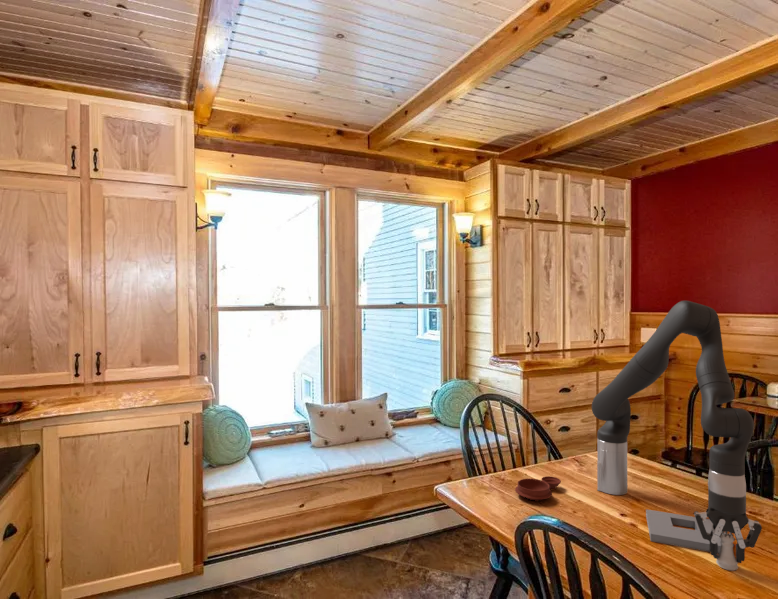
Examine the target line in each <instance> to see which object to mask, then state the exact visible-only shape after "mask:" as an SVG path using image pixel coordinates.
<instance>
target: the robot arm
mask: <svg viewBox="0 0 778 599" xmlns="http://www.w3.org/2000/svg"><path fill="white" fill-rule="evenodd" d="M719 318H720V317H719V316H718V313H717V311H716V310H715V309H714V308H713V307H710V306H708V305H705V304H701V303H697V302H694V301H691V300H680V301H679V302H677V303H676V304H674V305H673V306H672V307H671V309H670V310H668V312H667V314H666V315H665V317H664V318H663V319H662V321H661V322H660V324H659V326H657V329H655V331H654V332H653V333H652V335H650V337H649V339H647V341H646V342H645V343H644V344H643V346H642V347H641V348H640V349H639V350H638V351H637V352H636V353H635V354H634V356H632V357H631V359H630V360H629V361H628V362H627V364H626V365H625V366H624V367H623V368H622V370H621V371H620V372H619V373H618V374H617V375H616V376H615V377H614V379H612V380H611V382H609V384H608V385H607V386H605V387H604V388H603V389H601V391H599V392H598V393H597V394H596V395H595V396H594V398H593V400H592V401H591V402H592V403H591V411H592V414H593V416H594V417H595V418H597V419H598V420H600V421H603V422H604V424H603V425H602V426H601V427H599V429H597V434H596V435H597V437H596V438H597V461H596V462H597V464H596V465H597V466H596V467H597V468H596V469H597V479H596V480H597V481H596V482H597V486H596V487H597V488H596V489H597V491H598V492H599V491H600V492H603V493H605V494H610V495H616V496H621V495H623V496H624V495H626V494H627V493H628V436H629V434H630V431H631V414H632V413H631V410H632V409H631V403H630V400H629V399H630V398H631V397H632V396H634V395H636V394H637V393H640V392H641V391H644V390H645V389H647V388H648V387H649V386H651V385H652V384H654V383H655V382H656V381H657V380H658V379H659V378H660V377H661V375H663V374H664V373H665V372H666V370H667V368H668V365H669V361H670V360H669V359H670V348H671V345H672V343H673V342H674V341H675V340H676V338H677V337H679V336H680V335H681V334H685V335H689V336H692V337H696V338H697V340H698V342H699V344H700V347H701V353H700V356H699V359H698V360H697V363H696V366H695V375H696V376H695V377H696V380H697V384H698V387H699V391H700V395H701V412H700V424H701V428H702V430H703V431H704V432H705V433H706V434H707V435H709V436H710V437H715V438H716V437H718V438H729V439H728V440H727V442H724V443H719V444H714V445H712V446H710V448H709V467H708V468H709V471H708V478H707V480H708V481H707V487H708V489H707V490H708V491H707V495H708V499H707V500H708V503H707V504H708V506H707V509H706V510H705V511H703V512H699V511H697V510H696V511H693V512H694V513H693V515H694V517H695V518H696V521H697V524H698V526H699V529H700V532H701V535H702V537H703V539H707V540H709V541H710V552H709V553H710V555H711V556H713V559H716V560H717V559H718V555H719V553H718V544H717V540H718V538H719V536H720V534H721V532H724V533H725V532H728V533H732V534H733V535H734V538H735V541H736V543H735V558H736V560H737V562H738V564H742V563H743V562H745V560H746V559H745V552H746V551H745V550H746V548H755V546H756V543H757V542H758V539H759V537H760V534H761V532H762V530H763V527H762V524H761V522H759V521H758V520H753V519H750V518H748V515H747V483H746V477H745V476H746V475H745V474H746V472H745V470H746V469H745V464H746V463H745V460H746V455H747V451H748V447H749V445H750V441H751V439H752V436H753V434H754V431H755V430H754V429H755V422H754V419H753V417H752V415H751V413H750V412H749V411H747V410H746V409H744V408H737V407H718V405H722V404H727V403H730V402H731V401H733V399H735V390H734V388H733V384H732V381H731V379H730V375H729V372H728V370H727V366H726V361H725V358H724V348H723V347H724V346H723V340H722V331H721V323H720V319H719ZM706 519H710V521H711V522H712V523H713V525H712V528H711V532H710V534H709V533H707V532H706V530H705V527H704V524H703V522H705V521H706ZM745 526H748V528H749V530H748V533H747V536H746V537H745V538H744V537H743V534H742V532H741V531H742V530H743V529H744V528H745Z"/></svg>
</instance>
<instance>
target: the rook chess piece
mask: <svg viewBox="0 0 778 599" xmlns="http://www.w3.org/2000/svg"><path fill="white" fill-rule="evenodd" d="M719 537H720V538H721V541H720V543H721V549H720V553H718V559H716V560H715V562H716V564H717V566H719V567H720V568H721V569H724V570H725V571H737V570H738V569H739V565H738V564H739V563H738V562H737V560H736V555H735V554H734V553H735V552H734V546H735V544H734V542H735V541H736V537H735V536H734V533H730V532H721V534H720V536H719Z"/></svg>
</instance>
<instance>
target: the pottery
mask: <svg viewBox="0 0 778 599" xmlns="http://www.w3.org/2000/svg"><path fill="white" fill-rule="evenodd" d="M561 482H562V480H561V479H560V478H558V477H554V476H543V477H541V479H538V478H522V479H520V480H518V481H517V486H515V490H514V491H515V493H516V494H517V495H519V496H521V497H523V498H525V497H526V498H528V499H530V500H529V501H531V500H535V501H534V502H539V501H538V500H540V501H543V500H546V499H549V498H550V497H552V496H553V492H552V490H550V489H555V488H557V487H558V486H559V485H560V484H561ZM555 490H556V489H555ZM526 498H525V499H526ZM528 499H527V500H528Z"/></svg>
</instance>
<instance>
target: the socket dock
mask: <svg viewBox="0 0 778 599" xmlns="http://www.w3.org/2000/svg"><path fill="white" fill-rule="evenodd" d="M645 518H646V522H647V523H646V524H647V528H648V534H649V539H650V540H649V541H650V542H654V543H659V544H665V545H669V546H670V545H671V546H675V547H676V546H677V547H680V548H686V549H691V548H692V550H697V549H698V551H702V552H709V553H710V541H709V540H707V539H703V537H702V535H701V532H700V529H699V526H698V524H697V521H696V518H695V516H690V515H683V514H678V513H672V512H665V511H659V510H654V509H653V510H652V509H645ZM703 524H704V527H705V530H706V532H707V533H709V534H710V532H711V528H712V525H713V523H712V522H711V521H710V519H709V518H706V521H705V522H703ZM678 526H679V527H678ZM684 527H686V528H684ZM691 528H692V529H691ZM720 541H721V538H720V537H719V538H718V540H717V544H718V554H719V553H720V549H721V543H720Z"/></svg>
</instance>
